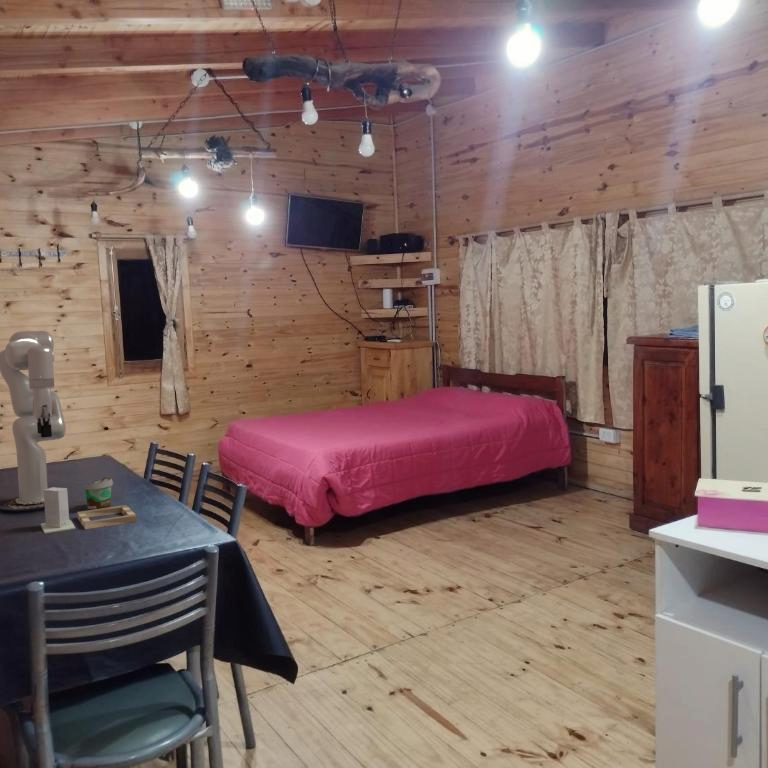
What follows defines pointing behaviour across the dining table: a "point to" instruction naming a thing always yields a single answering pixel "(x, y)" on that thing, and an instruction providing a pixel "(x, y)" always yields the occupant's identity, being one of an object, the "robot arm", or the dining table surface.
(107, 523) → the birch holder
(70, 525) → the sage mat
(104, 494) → the food container
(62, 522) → the skincare box
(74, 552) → the dining table surface
